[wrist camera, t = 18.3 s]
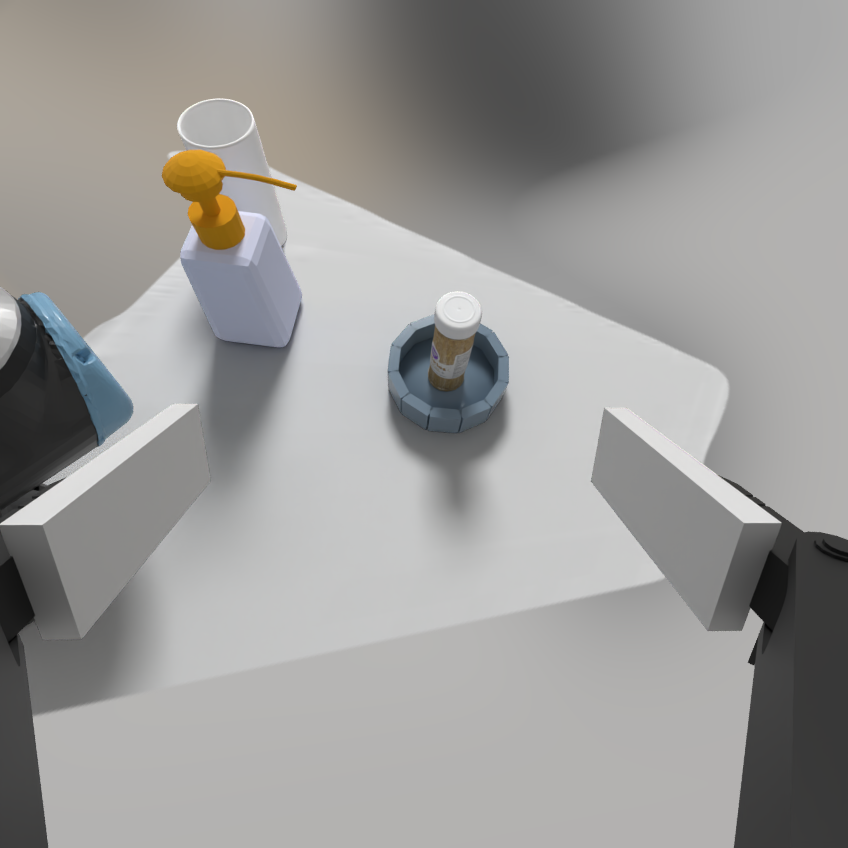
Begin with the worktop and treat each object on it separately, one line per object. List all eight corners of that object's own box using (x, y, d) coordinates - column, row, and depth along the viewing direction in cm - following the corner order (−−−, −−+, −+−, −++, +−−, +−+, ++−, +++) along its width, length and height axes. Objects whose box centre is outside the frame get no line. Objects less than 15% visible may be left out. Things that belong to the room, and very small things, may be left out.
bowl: (419, 450, 53) (420, 437, 49) (372, 355, 57) (370, 337, 54) (522, 405, 56) (530, 390, 52) (469, 319, 60) (473, 299, 57)
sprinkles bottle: (420, 372, 56) (425, 303, 43) (449, 354, 57) (463, 282, 44) (442, 400, 54) (455, 336, 42) (472, 380, 56) (492, 313, 43)
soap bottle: (323, 357, 57) (279, 212, 37) (214, 343, 57) (110, 191, 37) (338, 296, 61) (305, 134, 40) (236, 284, 61) (152, 115, 41)
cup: (296, 244, 64) (265, 133, 49) (240, 265, 62) (190, 156, 48) (274, 206, 67) (238, 90, 52) (220, 225, 65) (166, 110, 50)
